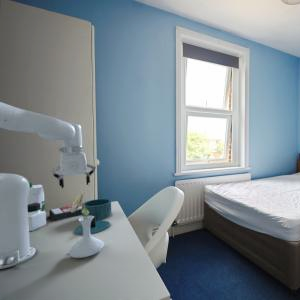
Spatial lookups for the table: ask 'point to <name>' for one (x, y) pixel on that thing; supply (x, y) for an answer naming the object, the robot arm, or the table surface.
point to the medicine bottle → (35, 216)
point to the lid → (94, 226)
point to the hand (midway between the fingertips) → (75, 185)
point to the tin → (98, 208)
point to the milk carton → (36, 195)
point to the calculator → (64, 213)
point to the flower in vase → (85, 234)
